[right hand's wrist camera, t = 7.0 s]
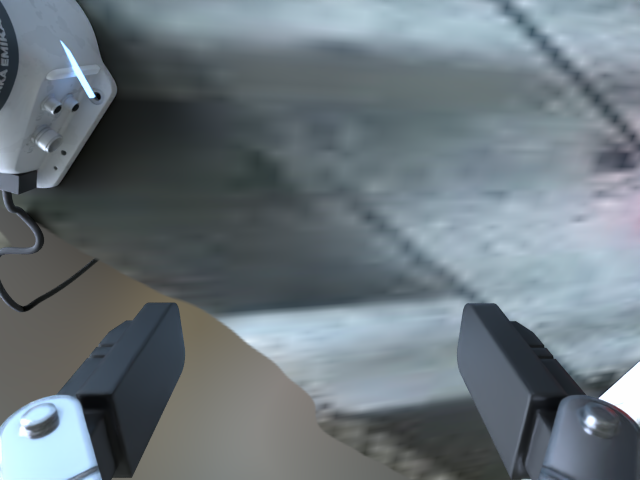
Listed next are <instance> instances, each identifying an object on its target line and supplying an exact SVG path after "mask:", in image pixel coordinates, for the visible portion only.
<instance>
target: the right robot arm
mask: <svg viewBox="0 0 640 480" xmlns="http://www.w3.org/2000/svg"><path fill="white" fill-rule="evenodd" d="M184 361H185V347H184V340H183V334H182V327H181V320H180V313H179V308H178V306H177V304H176V303H147V304H145V305H144V307H143V308H142V309H141V311H140V312H139V313H138V314H137V316H136V317H135V318H134V320H133V321H125V322H124V323H122V324H120V325H119V326H117V327H116V328H114V329H113V330H111V331H110V332H109V333H108V334H107V335H106V336H105V338H104V339H103V340H102V341H101V342H100V344H99V347H96V348H95V349H94V351H93V352H92V353H91V354H90V357H89V358H87V359H86V360H85V361H84V363H83V364H82V365H81V366H80V367H79V369H78V370H77V371H76V372H75V373H74V375H73V376H72V377H71V378H70V379H69V380H68V382H67V383H66V384H65V385H64V386H63V388H62V389H61V390H60V391H59V392H58V394H57V395H54V396H49V397H45V398H42V399H38V400H36V401H34V402H31V403H29V404H27V405H25V406H23V407H22V408H20V409H19V410H17V411H16V412H14V413H13V414H12V415H11V416H10V417H8V418H7V419H6V421H5V422H4V423H3V424H2V425H1V427H0V480H111V479H112V478H132V476H133V474H134V472H135V470H136V468H137V466H138V464H139V461H140V459H141V457H142V455H143V453H144V451H145V449H146V447H147V445H148V442H149V440H150V438H151V436H152V434H153V432H154V430H155V428H156V426H157V424H158V421H159V419H160V417H161V415H162V413H163V411H164V409H165V407H166V405H167V402H168V400H169V398H170V396H171V394H172V392H173V390H174V388H175V386H176V383H177V381H178V379H179V377H180V375H181V373H182V370H183V367H184ZM457 361H458V367H459V371H460V373H461V376H462V378H463V380H464V382H465V384H466V386H467V388H468V390H469V392H470V394H471V396H472V399H473V401H474V403H475V405H476V407H477V409H478V411H479V413H480V415H481V417H482V419H483V421H484V424H485V426H486V428H487V430H488V432H489V434H490V436H491V438H492V440H493V442H494V444H495V446H496V449H497V451H498V453H499V455H500V457H501V459H502V461H503V463H504V465H505V467H506V469H507V471H508V474H509V476H510V478H511V479H531V480H640V427H639V425H638V424H637V423H636V422H635V420H634V419H633V418H632V417H630V416H629V415H628V414H627V413H626V412H624V411H623V410H621V409H620V408H618V407H617V406H615V405H613V404H611V403H609V402H606V401H604V400H602V399H598V398H595V397H591V396H587V395H586V394H585V393H584V392H583V391H582V390H581V388H580V387H579V386H578V385H577V384H576V382H575V381H574V380H573V379H572V378H571V377H570V375H569V374H568V373H567V372H566V371H565V369H564V368H563V367H562V366H561V365H560V364H559V362H558V361H557V360H556V359H553V355H552V354H551V353H550V352H549V351H548V349H547V348H544V345H543V344H542V342H541V341H540V340H539V339H538V338H537V336H536V335H535V334H534V333H533V332H532V331H530V330H529V329H527V328H526V327H524V326H522V325H521V324H519V323H518V322H516V321H509V320H508V318H507V317H506V316H505V314H504V313H503V312H502V311H501V309H500V308H499V307H498V306H497V305H496V304H494V303H467V304H466V305H465V307H464V309H463V315H462V322H461V328H460V335H459V342H458V348H457Z"/></svg>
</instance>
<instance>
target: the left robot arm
mask: <svg viewBox="0 0 640 480" xmlns="http://www.w3.org/2000/svg"><path fill="white" fill-rule="evenodd" d="M97 93H99V94H100V95H101V99H100V100H99V99H98V98H97V97H96V94H97ZM116 94H117V86H116V83H115V81H114V79H113V77H112V75H111V74H110V72H109V71H108V69H107V68H106V66H105V65H104V63H103V61H102V59H101V55H100V52H99V48H98V44H97V40H96V36H95V33H94V31H93V28H92V26H91V24H90V22H89V20H88V18H87V16H86V15H85V13H84V11H83V10H82V8H81V7H80V6H79V4H78V3H77V2H76V1H75V0H0V189H1V190H2V193H3V200H4V203H5V206H6V208H7V209H8V211H10V212H12V213H17V214H18V215H19V216H20V217H21V218H22V219H23V220H24V221H25V222H26V224H27V225H28V226H29V227H30V228H31V229H32V231H33V232H34V234H35V237H36V243H35V245H34V246H33V247H29V248H15V247H7V248H1V249H0V257H1V256H2V255H4V254H33V253H36V252H38V251H39V250H40V249H41V248H42V246H43V244H44V237H43V233H42V231H41V229H40V228H39V226H38V225H37V224H36V222H35V221H34V220H33V219H32V218H31V217H30V216H29V215H28V214H27V213H26V212H25V211H24V210H23V209H22V208H20V207H17V206H15V205H14V204H13V200H12V194H11V192H12V193H15V194H21V193H24V192H26V191H29V190H32V189H34V188H49V187H54V186H57V185H58V184H59V183H60V182H61V181H62V179H63V177H64V176H65V174H66V173H67V171H68V170H69V168H70V167H71V165H72V163H73V162H74V160H75V159H76V157H77V156H78V154H79V152H80V151H81V149H82V148H83V146H84V145H85V143H86V141H87V140H88V138H89V137H90V135H91V134H92V132H93V130H94V129H95V127H96V126H97V124H98V123H99V121H100V120H101V118H102V116H103V115H104V113H105V112H106V110H107V109H108V107H109V105H110V104H111V102H112V101H113V99H114V98H115V96H116ZM98 261H99V260H98V259H96V258H94V259H93V260H92V261H91V262H89V263H88V264H87V265H85V266H84V267H83V268H82V269H81V270H79V271H78V272H77V273H75V274H74V275H73V276H72V277H70V278H69V279H68V280H66V281H65V282H63V283H62V284H60V285H59V286H57V287H56V288H54V289H52V290H51V291H49V292H47V293H45V294H43V295H42V296H40V297H38V298H36V299H35V300H34V301H32V302H31V303H29V304H28V305H26V306H20V305H18V304H17V303H16V302H15V301H14V300H12V298H11V297H10V296H9V295H8V293H7V292H6V291H5V289H4V287H3V285H2V283H1V281H0V297H1V298H2V299H3V300H4V302H5V303H6V304H7V305H9V306H10V307H11V308H12V309H14V310H15V311H18V312H26V311H29V310H31V309H32V308H34V307H35V306H36V305H38V304H39V303H41V302H42V301H44V300H46V299H47V298H49V297H51V296H53V295H54V294H56V293H57V292H59V291H60V290H62V289H63V288H65V287H66V286H68V285H69V284H70V283H72V282H73V281H74V280H76V279H77V278H78V277H79V276H81V275H82V274H83V273H84V272H86V271H87V270H88V269H89V268H90V267H92V266H93V265H94V264H95V263H96V262H98Z"/></svg>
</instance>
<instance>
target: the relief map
mask: <svg viewBox="0 0 640 480" xmlns="http://www.w3.org/2000/svg"><path fill="white" fill-rule="evenodd" d="M599 399H602V400H604V401H606V402H609V403H611V404H613V405H615V406H617V407H618V408H620V409H621V410H623V411H624V412H626V413H627V414H628V415H629V416H630V417H632V418H633V419H634V420H635V422H636V423H637V424H638V425H639V427H640V362H639V363H638V364H637V365H636V366H634V367H633V368H632V369H631V370H630V371H629V372H628V373H627V374H625V375H624V376H623V377H622V378H621V379H620V380H619V381H618V382H617V383H615V384H614V385H613V386H612V387H611V388H610V389H609V390H608V391H607V392H605V393H604V394H603V395H602V396H601V397H600V398H599ZM521 480H531V479H521Z"/></svg>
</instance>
